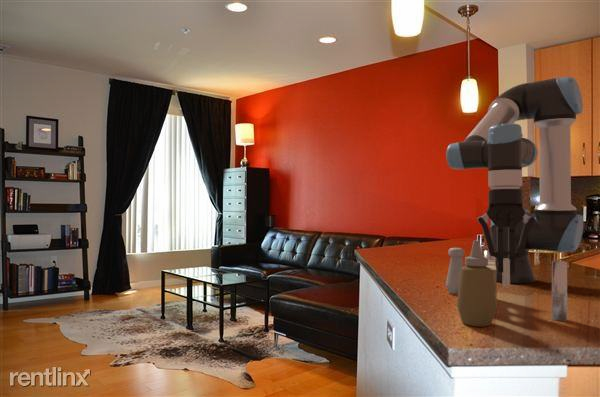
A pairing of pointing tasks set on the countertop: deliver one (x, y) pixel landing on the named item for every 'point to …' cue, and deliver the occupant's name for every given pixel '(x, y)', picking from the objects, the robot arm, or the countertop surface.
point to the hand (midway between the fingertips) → (506, 285)
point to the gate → (492, 266)
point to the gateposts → (554, 288)
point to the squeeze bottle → (476, 290)
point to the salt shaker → (454, 270)
